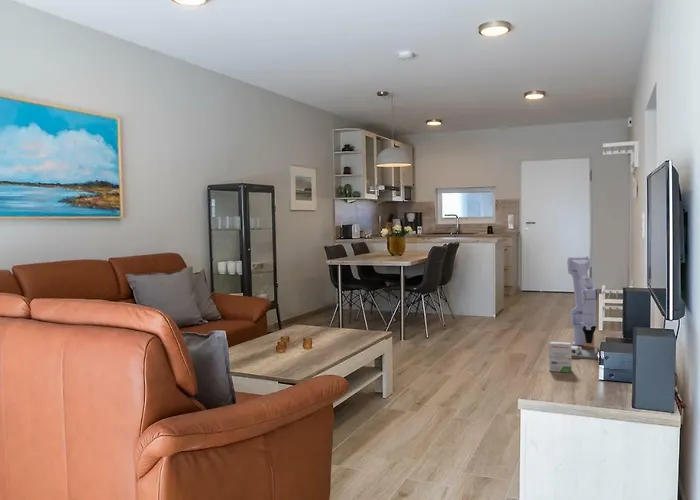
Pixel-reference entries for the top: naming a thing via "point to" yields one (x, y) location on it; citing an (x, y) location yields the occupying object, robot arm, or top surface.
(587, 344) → the block
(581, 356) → the deck
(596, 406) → the top surface
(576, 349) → the cover
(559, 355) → the ink box
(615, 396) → the top surface
